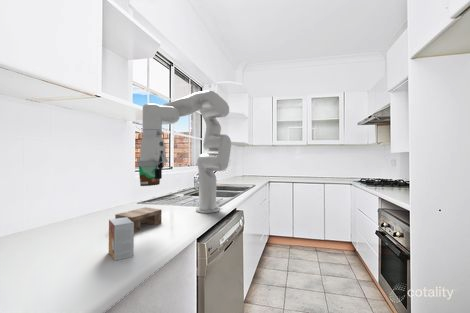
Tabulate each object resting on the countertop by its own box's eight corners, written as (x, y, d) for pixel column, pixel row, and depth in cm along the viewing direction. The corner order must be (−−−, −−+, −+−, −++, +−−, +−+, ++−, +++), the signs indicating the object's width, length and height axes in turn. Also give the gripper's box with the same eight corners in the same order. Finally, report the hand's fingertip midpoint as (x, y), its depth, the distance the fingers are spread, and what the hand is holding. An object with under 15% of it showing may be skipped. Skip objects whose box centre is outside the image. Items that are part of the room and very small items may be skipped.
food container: (152, 186, 94) (151, 160, 94) (138, 186, 95) (137, 160, 95) (168, 182, 106) (167, 159, 106) (155, 182, 107) (154, 159, 107)
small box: (108, 252, 78) (108, 219, 77) (127, 248, 81) (127, 216, 81) (113, 261, 71) (113, 225, 71) (133, 256, 75) (134, 222, 74)
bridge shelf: (145, 219, 115) (145, 207, 115) (161, 222, 111) (161, 209, 111) (115, 229, 101) (115, 214, 101) (132, 232, 97) (132, 217, 97)
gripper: (174, 134, 101) (174, 178, 101) (143, 135, 108) (143, 176, 108) (162, 133, 94) (162, 180, 94) (129, 134, 101) (129, 178, 101)
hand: (152, 178), depth 101 cm, fingers closed on food container, 5 cm apart
